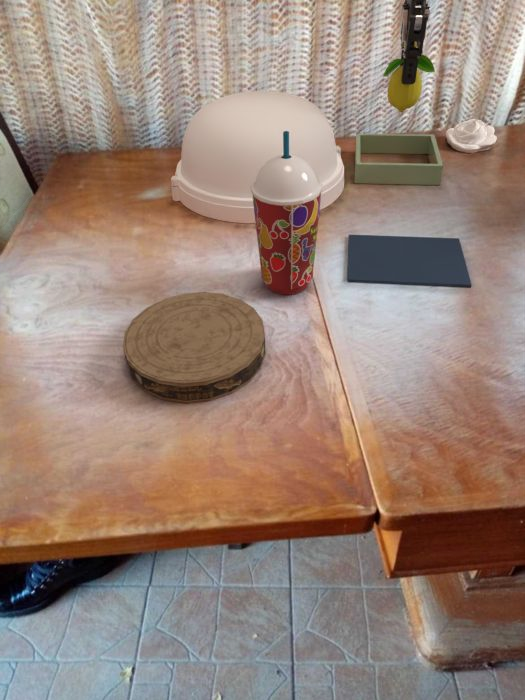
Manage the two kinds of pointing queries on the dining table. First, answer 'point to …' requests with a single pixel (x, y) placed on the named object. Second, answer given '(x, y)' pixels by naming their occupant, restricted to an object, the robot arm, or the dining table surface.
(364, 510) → the dining table surface
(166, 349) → the wood slice
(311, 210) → the smoothie
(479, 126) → the rose
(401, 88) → the lemon
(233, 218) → the dome cover
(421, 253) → the mat
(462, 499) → the dining table surface
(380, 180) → the sage green tray
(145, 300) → the dining table surface
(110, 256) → the dining table surface
